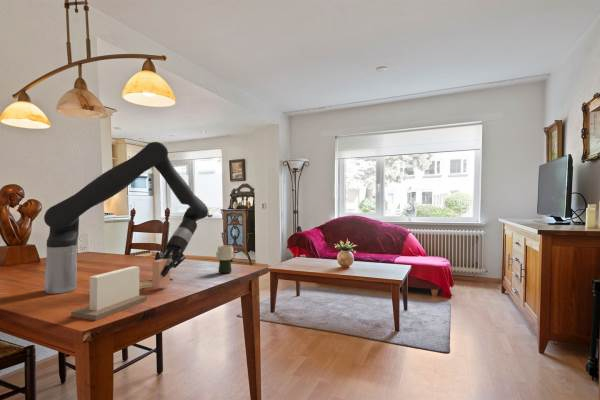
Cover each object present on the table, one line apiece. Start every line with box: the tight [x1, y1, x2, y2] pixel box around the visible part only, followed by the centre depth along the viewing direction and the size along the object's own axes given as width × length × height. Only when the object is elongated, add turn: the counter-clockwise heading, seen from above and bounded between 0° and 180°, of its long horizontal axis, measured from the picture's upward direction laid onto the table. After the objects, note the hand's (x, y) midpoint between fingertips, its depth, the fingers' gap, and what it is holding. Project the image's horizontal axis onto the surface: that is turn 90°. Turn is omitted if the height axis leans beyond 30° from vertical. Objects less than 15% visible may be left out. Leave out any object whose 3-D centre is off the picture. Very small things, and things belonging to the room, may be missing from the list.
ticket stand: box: [70, 265, 148, 322], centre depth 98 cm, size 10×19×12 cm, turn 163°
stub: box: [151, 258, 171, 289], centre depth 119 cm, size 3×6×10 cm, turn 163°
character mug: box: [215, 244, 235, 274], centre depth 148 cm, size 11×7×13 cm, turn 147°
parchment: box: [139, 278, 174, 290], centre depth 125 cm, size 25×10×1 cm, turn 150°
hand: (158, 275), depth 118 cm, fingers closed on stub, 3 cm apart
